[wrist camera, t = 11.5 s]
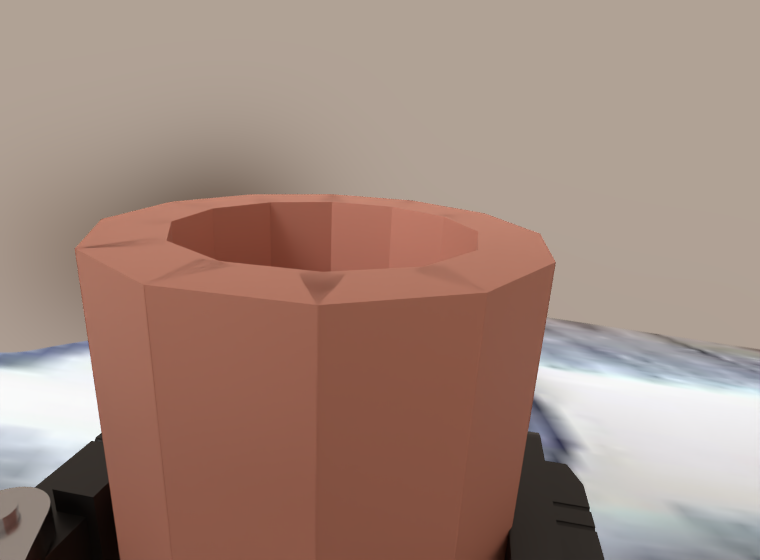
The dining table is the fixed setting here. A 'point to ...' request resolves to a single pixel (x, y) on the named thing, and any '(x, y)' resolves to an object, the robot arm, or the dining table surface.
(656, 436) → the dining table surface
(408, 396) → the sleeve
